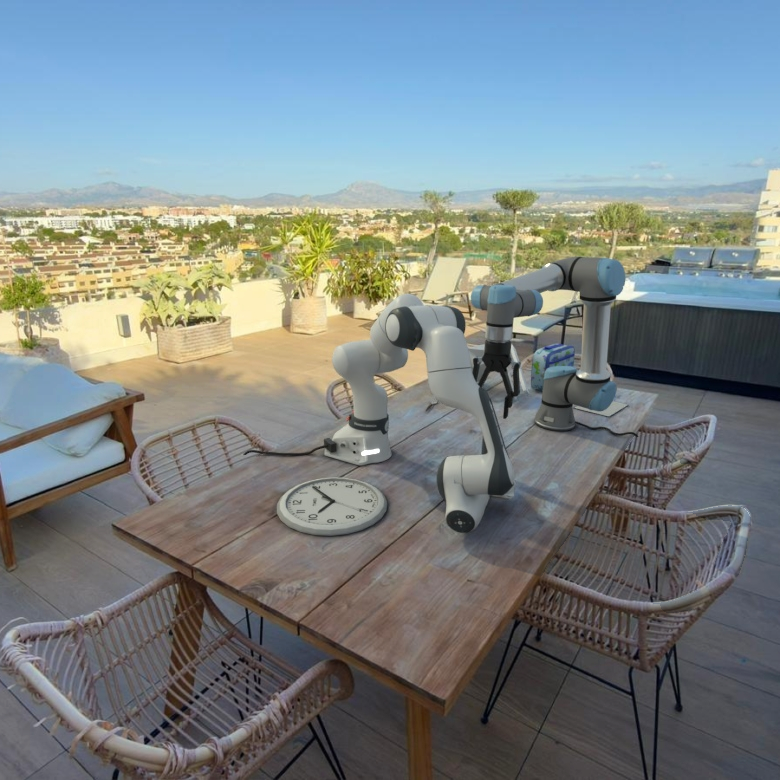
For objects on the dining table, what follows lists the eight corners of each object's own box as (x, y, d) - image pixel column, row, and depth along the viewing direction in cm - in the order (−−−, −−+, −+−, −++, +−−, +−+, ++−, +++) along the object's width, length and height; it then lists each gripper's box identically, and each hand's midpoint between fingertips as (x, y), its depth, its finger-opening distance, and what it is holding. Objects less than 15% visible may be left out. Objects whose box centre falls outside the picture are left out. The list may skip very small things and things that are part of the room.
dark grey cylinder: (498, 475, 162) (502, 429, 157) (487, 479, 159) (491, 432, 155) (487, 469, 166) (491, 424, 161) (476, 473, 163) (480, 427, 158)
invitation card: (608, 416, 214) (573, 407, 224) (608, 416, 214) (573, 408, 224) (628, 404, 229) (594, 396, 238) (628, 405, 229) (594, 397, 238)
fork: (422, 411, 216) (422, 407, 215) (433, 400, 230) (433, 396, 230) (428, 412, 215) (429, 407, 215) (438, 401, 230) (439, 396, 229)
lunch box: (547, 395, 239) (552, 351, 233) (526, 390, 247) (530, 347, 240) (574, 384, 257) (579, 343, 251) (554, 380, 264) (558, 339, 258)
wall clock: (392, 527, 129) (268, 531, 127) (391, 533, 130) (269, 537, 127) (383, 473, 158) (282, 475, 155) (383, 478, 158) (282, 480, 156)
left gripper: (514, 488, 134) (520, 466, 147) (436, 475, 141) (449, 455, 153) (511, 510, 136) (518, 487, 148) (435, 496, 142) (447, 474, 155)
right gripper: (536, 341, 149) (528, 417, 156) (468, 334, 157) (464, 406, 164) (531, 346, 142) (523, 425, 149) (460, 338, 151) (456, 413, 158)
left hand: (482, 470), depth 151 cm, fingers open, 8 cm apart
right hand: (492, 415), depth 157 cm, fingers open, 7 cm apart
